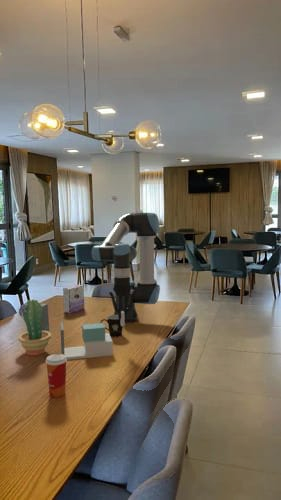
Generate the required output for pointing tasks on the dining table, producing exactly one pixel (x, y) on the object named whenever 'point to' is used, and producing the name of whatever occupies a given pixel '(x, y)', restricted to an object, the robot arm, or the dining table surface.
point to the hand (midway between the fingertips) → (122, 325)
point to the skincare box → (45, 318)
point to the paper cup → (56, 374)
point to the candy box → (73, 298)
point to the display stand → (88, 348)
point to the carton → (93, 332)
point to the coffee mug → (114, 326)
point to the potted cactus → (33, 329)
